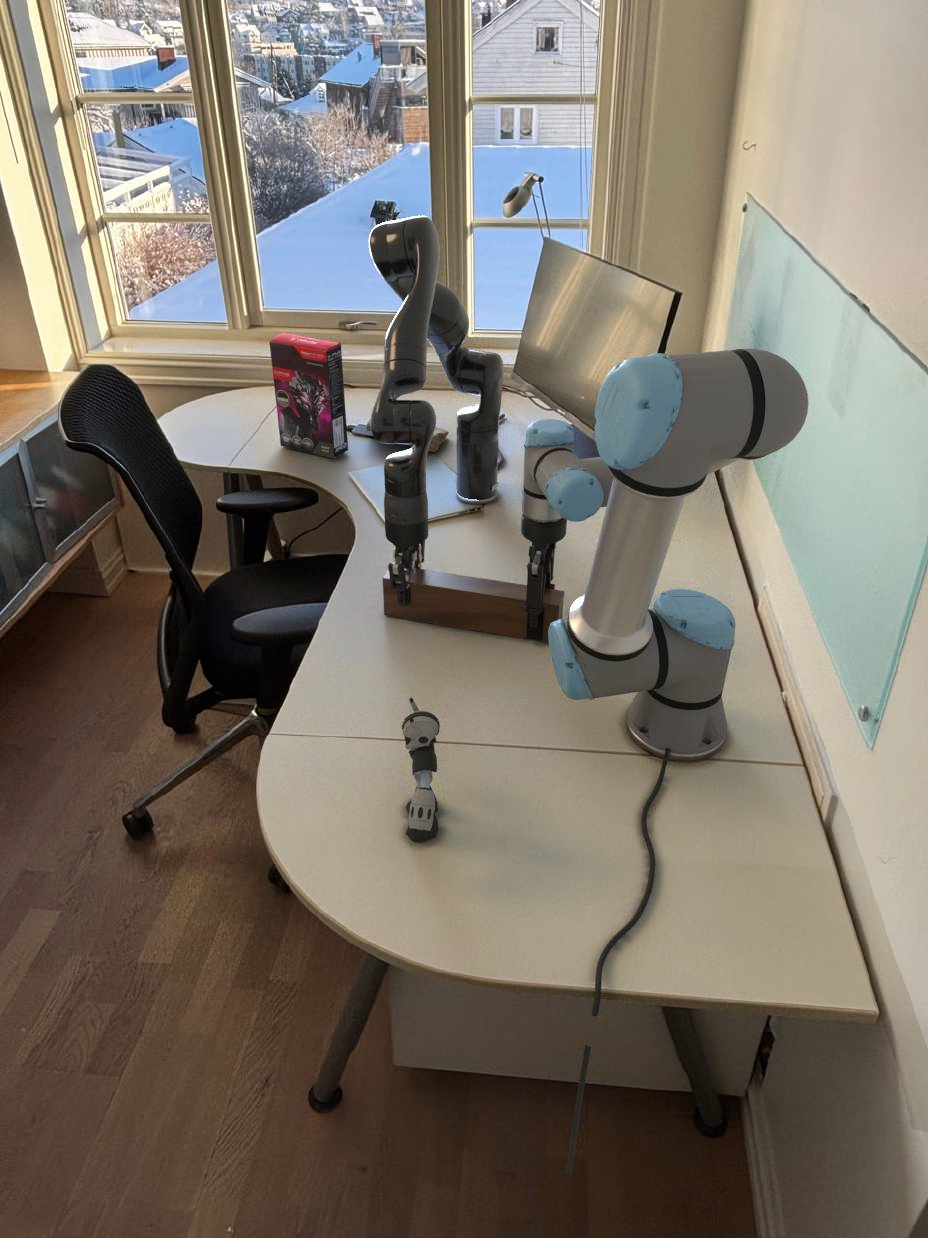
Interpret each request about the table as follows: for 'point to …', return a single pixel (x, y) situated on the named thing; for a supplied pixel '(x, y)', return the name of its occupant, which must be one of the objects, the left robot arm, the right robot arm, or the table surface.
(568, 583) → the table surface
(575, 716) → the table surface
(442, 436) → the stone
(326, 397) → the graphics card box
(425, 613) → the walnut beam
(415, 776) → the robot
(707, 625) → the right robot arm
